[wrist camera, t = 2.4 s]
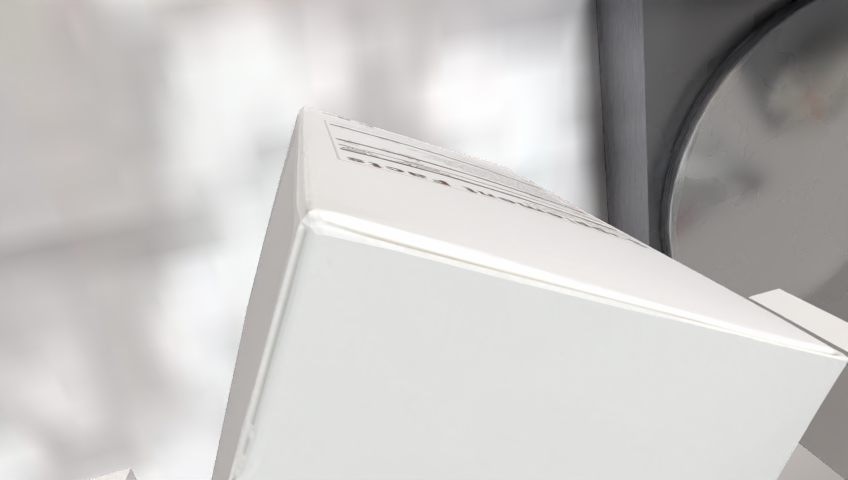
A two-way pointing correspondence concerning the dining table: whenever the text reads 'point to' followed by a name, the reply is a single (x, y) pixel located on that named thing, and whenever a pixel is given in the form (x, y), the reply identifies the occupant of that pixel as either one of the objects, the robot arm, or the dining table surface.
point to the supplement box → (492, 335)
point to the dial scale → (732, 139)
